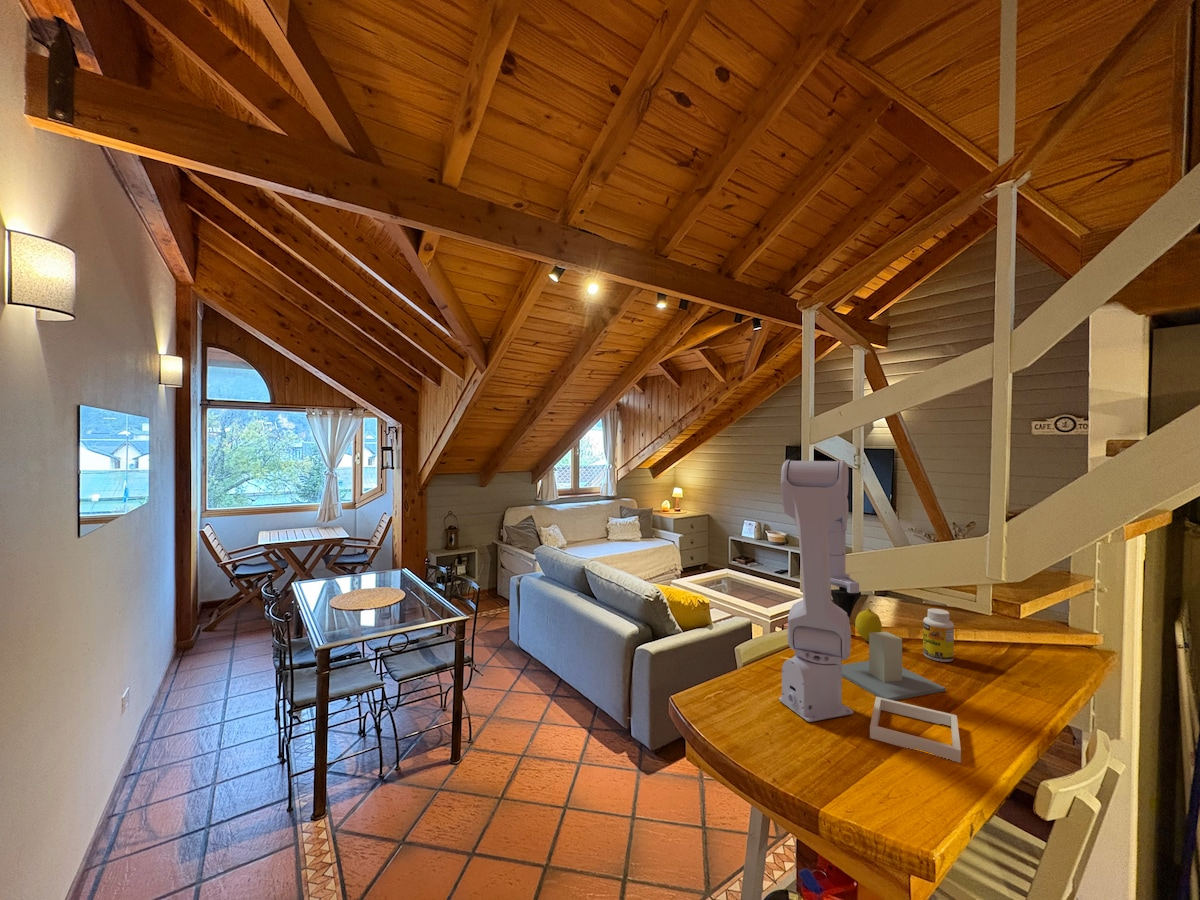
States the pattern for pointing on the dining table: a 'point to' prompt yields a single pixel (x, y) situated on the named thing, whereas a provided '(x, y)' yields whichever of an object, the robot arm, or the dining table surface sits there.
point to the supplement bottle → (938, 636)
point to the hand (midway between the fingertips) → (829, 618)
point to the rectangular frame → (910, 740)
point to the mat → (890, 690)
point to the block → (885, 656)
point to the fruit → (867, 623)
